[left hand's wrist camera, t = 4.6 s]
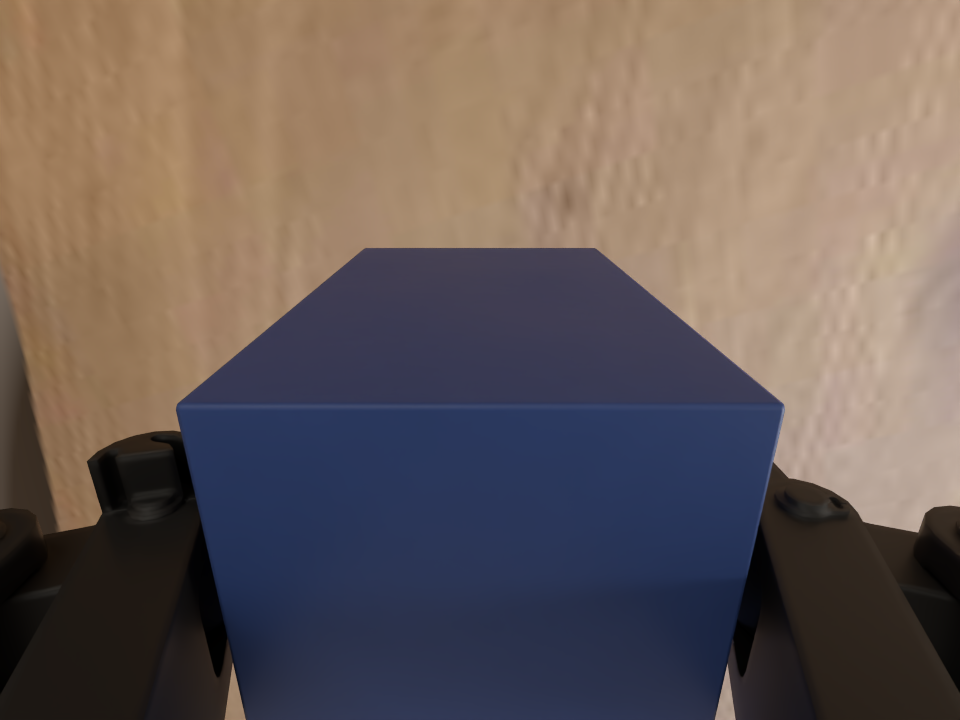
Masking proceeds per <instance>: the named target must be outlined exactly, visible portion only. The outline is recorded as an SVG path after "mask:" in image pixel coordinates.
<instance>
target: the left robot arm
mask: <svg viewBox="0 0 960 720" xmlns="http://www.w3.org/2000/svg"><path fill="white" fill-rule="evenodd" d="M87 464H88V467H89V470H90V474H91V477H92V480H93V484H94V487H95V490H96V493H97V497H98V500H99V503H100V507H101V510H102V515H101V517H100V519H99V520H98V522H97V524H96V525H94V526H89V527H84V528H79V529H73V530H68V531H63V532H57V533H52V534H47V535H43V534H42V531H41V528H40V525H39V523H38V520H37V517H36V515H34V514H33V513H31V512H30V511H28V510H24V509H14V508H10V509H2V510H0V720H224V719H225V712H226V705H227V698H228V691H229V684H230V677H231V670H232V663H233V660H232V656H231V651H230V647H229V642H228V638H227V633H226V629H225V625H224V620H223V616H222V611H221V607H220V602H219V598H218V594H217V589H216V585H215V580H214V576H213V571H212V567H211V563H210V558H209V554H208V549H207V545H206V540H205V536H204V532H203V527H202V523H201V518H200V514H199V509H198V505H197V501H196V496H195V492H194V487H193V483H192V478H191V474H190V470H189V465H188V461H187V456H186V452H185V447H184V443H183V439H182V434H181V432H178V431H156V432H150V433H145V434H140V435H135V436H132V437H129V438H126V439H123V440H120V441H118V442H115V443H113V444H111V445H109V446H107V447H105V448H103V449H102V450H100V451H98V452H97V453H96V454H95V455H93V456H92V457H91V458H90V459H89V460H88V461H87ZM728 669H729V676H730V683H731V690H732V697H733V704H734V711H735V718H736V720H960V507H956V506H942V507H934V508H932V509H931V510H929V511H928V512H926V513H925V516H924V518H923V521H922V524H921V527H920V530H919V532H918V533H917V532H911V531H906V530H901V529H895V528H890V527H885V526H879V525H874V524H869V523H865V522H863V521H862V519H861V518H860V516H859V514H858V512H857V511H856V510H855V509H854V508H853V507H852V506H851V505H850V503H849V502H848V501H846V500H845V499H843V498H842V497H840V496H839V495H837V494H835V493H834V492H832V491H830V490H828V489H825V488H823V487H820V486H818V485H816V484H813V483H809V482H805V481H800V480H796V479H789V478H788V477H787V476H786V475H785V474H784V473H783V472H782V471H781V470H780V469H779V468H778V467H777V466H776V465H775V463H774V462H773V465H772V469H771V473H770V478H769V482H768V487H767V491H766V495H765V500H764V504H763V509H762V513H761V517H760V522H759V526H758V531H757V535H756V540H755V544H754V548H753V553H752V557H751V562H750V566H749V570H748V575H747V579H746V584H745V588H744V592H743V597H742V601H741V606H740V610H739V614H738V619H737V623H736V628H735V632H734V636H733V641H732V645H731V650H730V654H729V659H728Z"/></svg>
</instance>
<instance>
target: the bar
mask: <svg viewBox="0 0 960 720" xmlns="http://www.w3.org/2000/svg"><path fill="white" fill-rule="evenodd" d="M176 412H177V416H178V421H179V425H180V430H181V434H182V439H183V443H184V447H185V452H186V456H187V461H188V465H189V470H190V474H191V478H192V483H193V487H194V492H195V496H196V501H197V505H198V509H199V514H200V518H201V523H202V527H203V532H204V536H205V540H206V545H207V549H208V554H209V558H210V563H211V567H212V571H213V576H214V580H215V585H216V589H217V594H218V598H219V602H220V607H221V611H222V616H223V620H224V625H225V629H226V633H227V638H228V642H229V647H230V651H231V656H232V660H233V664H234V669H235V673H236V678H237V682H238V686H239V691H240V695H241V700H242V704H243V709H244V713H245V717H246V720H715V716H716V711H717V707H718V703H719V698H720V694H721V689H722V685H723V681H724V676H725V672H726V667H727V663H728V659H729V654H730V650H731V645H732V641H733V636H734V632H735V628H736V623H737V619H738V614H739V610H740V606H741V601H742V597H743V592H744V588H745V584H746V579H747V575H748V570H749V566H750V562H751V557H752V553H753V548H754V544H755V540H756V535H757V531H758V526H759V522H760V517H761V513H762V509H763V504H764V500H765V495H766V491H767V487H768V482H769V478H770V473H771V469H772V465H773V460H774V456H775V451H776V447H777V443H778V438H779V434H780V429H781V425H782V421H783V416H784V412H785V408H784V404H783V403H782V402H780V401H779V400H778V399H777V398H776V397H774V396H773V395H772V394H771V393H770V392H768V391H767V390H766V389H765V388H764V387H762V386H761V385H760V384H759V383H758V382H756V381H755V380H754V379H753V378H751V377H750V376H749V375H748V374H747V373H745V372H744V371H743V370H742V369H741V368H739V367H738V366H737V365H736V364H735V363H733V362H732V361H731V360H730V359H729V358H727V357H726V356H725V355H724V354H723V353H721V352H720V351H719V350H718V349H716V348H715V347H714V346H713V345H712V344H710V343H709V342H708V341H707V340H706V339H704V338H703V337H702V336H701V335H700V334H698V333H697V332H696V331H695V330H694V329H692V328H691V327H690V326H689V325H687V324H686V323H685V322H684V321H683V320H681V319H680V318H679V317H678V316H677V315H675V314H674V313H673V312H672V311H671V310H669V309H668V308H667V307H666V306H665V305H663V304H662V303H661V302H660V301H659V300H657V299H656V298H655V297H654V296H652V295H651V294H650V293H649V292H648V291H646V290H645V289H644V288H643V287H642V286H640V285H639V284H638V283H637V282H636V281H634V280H633V279H632V278H631V277H630V276H628V275H627V274H626V273H625V272H624V271H622V270H621V269H620V268H619V267H617V266H616V265H615V264H614V263H613V262H611V261H610V260H609V259H608V258H607V257H605V256H604V255H603V254H602V253H601V252H599V251H598V250H597V249H595V248H365V249H363V250H362V251H361V252H360V253H359V254H357V255H356V256H355V257H354V258H353V259H351V260H350V261H349V262H348V263H347V264H345V265H344V266H343V267H342V268H341V269H339V270H338V271H337V272H336V273H335V274H333V275H332V276H331V277H330V278H328V279H327V280H326V281H325V282H324V283H322V284H321V285H320V286H319V287H318V288H316V289H315V290H314V291H313V292H312V293H310V294H309V295H308V296H307V297H306V298H304V299H303V300H302V301H301V302H300V303H298V304H297V305H296V306H295V307H294V308H292V309H291V310H290V311H289V312H288V313H286V314H285V315H284V316H283V317H282V318H280V319H279V320H278V321H277V322H275V323H274V324H273V325H272V326H271V327H269V328H268V329H267V330H266V331H265V332H263V333H262V334H261V335H260V336H259V337H257V338H256V339H255V340H254V341H253V342H251V343H250V344H249V345H248V346H247V347H245V348H244V349H243V350H242V351H241V352H239V353H238V354H237V355H236V356H235V357H233V358H232V359H231V360H230V361H229V362H227V363H226V364H225V365H224V366H222V367H221V368H220V369H219V370H218V371H216V372H215V373H214V374H213V375H212V376H210V377H209V378H208V379H207V380H206V381H204V382H203V383H202V384H201V385H200V386H198V387H197V388H196V389H195V390H194V391H192V392H191V393H190V394H189V395H188V396H186V397H185V398H184V399H183V400H182V401H180V402H179V403H178V404H177V407H176Z"/></svg>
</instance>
